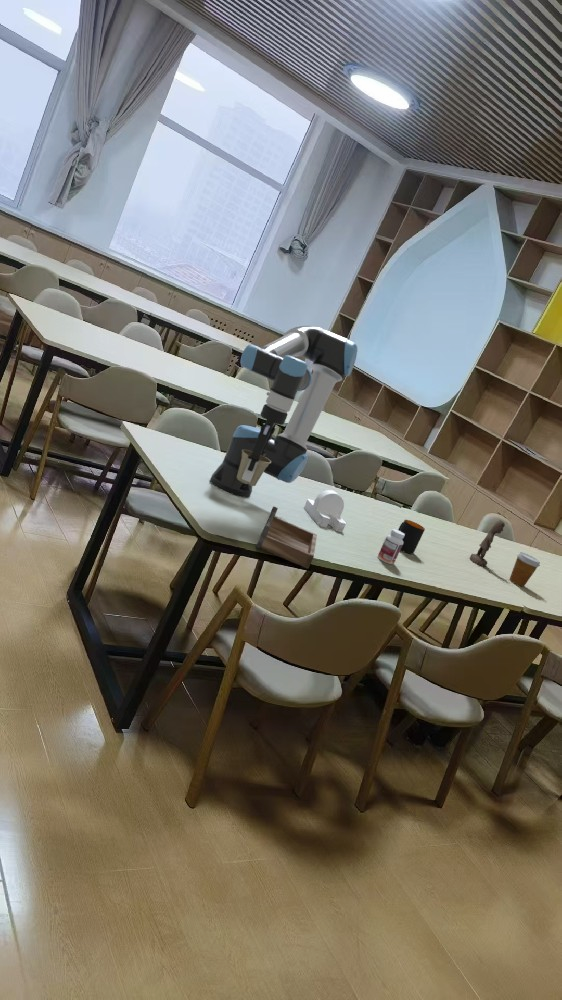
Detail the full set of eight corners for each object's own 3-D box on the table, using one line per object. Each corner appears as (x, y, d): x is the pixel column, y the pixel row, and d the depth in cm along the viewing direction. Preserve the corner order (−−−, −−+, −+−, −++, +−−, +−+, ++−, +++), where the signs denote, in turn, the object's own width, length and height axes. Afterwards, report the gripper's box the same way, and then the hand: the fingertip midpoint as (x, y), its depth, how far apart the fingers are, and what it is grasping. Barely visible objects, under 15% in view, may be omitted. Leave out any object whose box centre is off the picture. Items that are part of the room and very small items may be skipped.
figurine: (489, 569, 313) (511, 526, 309) (473, 563, 311) (495, 520, 307) (480, 560, 322) (501, 518, 317) (465, 555, 320) (486, 513, 315)
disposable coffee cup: (502, 575, 312) (515, 549, 310) (522, 582, 314) (535, 557, 311) (510, 583, 303) (524, 557, 300) (531, 591, 305) (545, 565, 302)
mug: (402, 543, 294) (413, 519, 292) (417, 556, 284) (429, 531, 281) (384, 537, 291) (396, 513, 288) (399, 551, 280) (411, 526, 278)
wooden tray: (264, 525, 240) (273, 506, 238) (312, 545, 240) (320, 526, 238) (255, 546, 215) (265, 525, 214) (308, 569, 215) (317, 547, 214)
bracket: (343, 533, 272) (355, 505, 269) (318, 526, 268) (331, 497, 265) (326, 514, 289) (337, 487, 286) (302, 507, 285) (314, 480, 282)
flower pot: (262, 485, 232) (272, 459, 230) (258, 491, 223) (269, 464, 221) (233, 473, 232) (244, 447, 230) (229, 478, 223) (240, 452, 221)
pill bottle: (387, 558, 263) (400, 530, 261) (397, 566, 258) (410, 537, 255) (373, 554, 260) (387, 526, 257) (383, 563, 255) (396, 533, 252)
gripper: (268, 400, 233) (241, 466, 238) (260, 406, 211) (231, 479, 216) (291, 409, 233) (263, 475, 238) (285, 416, 211) (255, 489, 216)
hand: (248, 477), depth 227 cm, fingers closed on flower pot, 9 cm apart
